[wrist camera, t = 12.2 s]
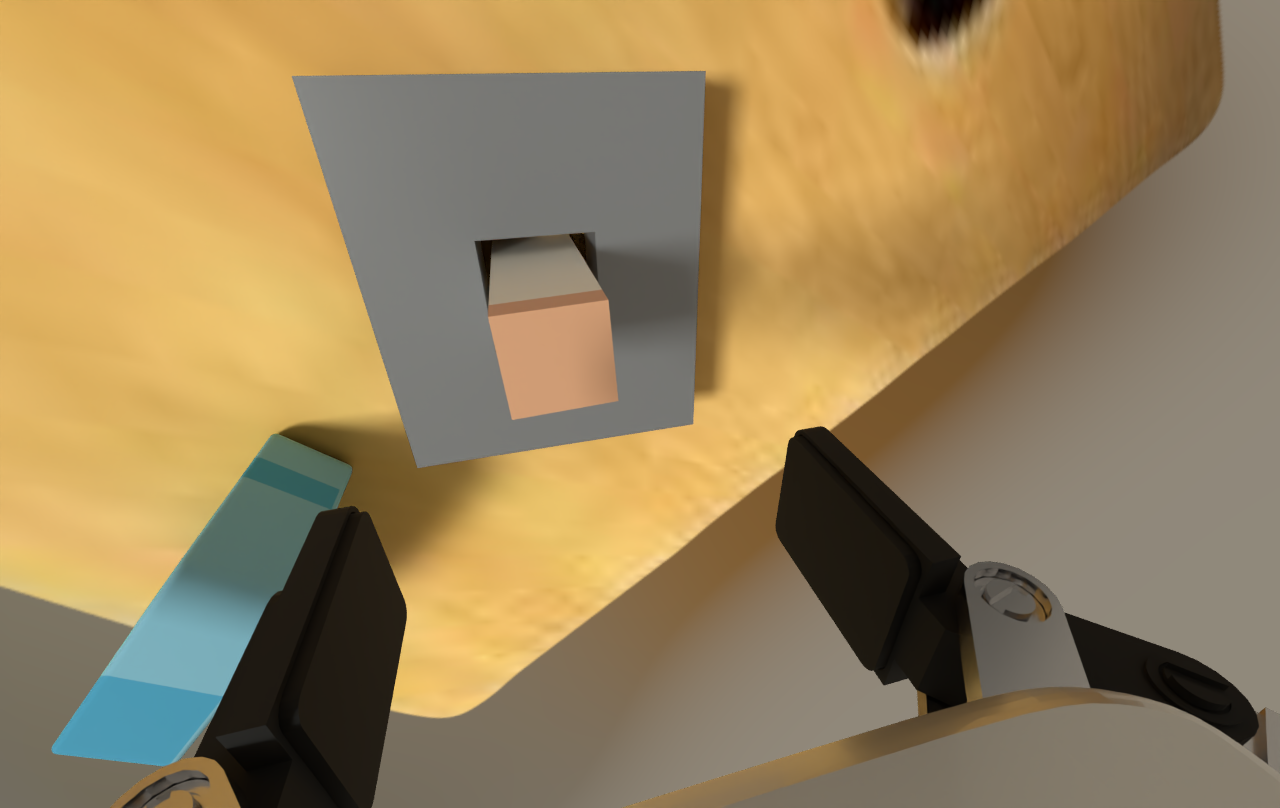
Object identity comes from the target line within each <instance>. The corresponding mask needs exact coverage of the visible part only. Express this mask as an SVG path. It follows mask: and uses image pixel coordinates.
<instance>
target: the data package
mask: <svg viewBox="0 0 1280 808" xmlns="http://www.w3.org/2000/svg"><path fill="white" fill-rule="evenodd" d="M351 474H352V467H351V466H350V465H349V464H346V463H344V462H342V461H339V460H337V459H335V458H332V457H330V456H328V455H325V454H323V453H321V452H319V451H316V450H314V449H312V448H309V447H307V446H305V445H302V444H300V443H298V442H295V441H293V440H291V439H289V438H286V437H284V436H282V435H279V434H273V435H271V436H270V438H269V439H268V440H267V442H266V443H265V445H264V446H263V447H262V449H261V450H260V452H259V453H258V454H257V456H256V457H255V458H254V460H253V461H252V463H251V464H250V465H249V467H248V468H247V470H246V471H245V472H244V474H243V475H242V476H241V478H240V479H239V481H238V482H237V483H236V485H235V486H234V488H233V489H232V490H231V492H230V493H229V494H228V496H227V497H226V499H225V500H224V501H223V503H222V504H221V506H220V507H219V508H218V510H217V511H216V512H215V514H214V515H213V517H212V518H211V519H210V521H209V522H208V524H207V525H206V526H205V528H204V529H203V531H202V532H201V533H200V535H199V536H198V537H197V539H196V540H195V542H194V543H193V544H192V546H191V547H190V549H189V550H188V551H187V553H186V554H185V555H184V557H183V558H182V560H181V561H180V562H179V564H178V565H177V567H176V568H175V569H174V571H173V572H172V574H171V575H170V576H169V578H168V579H167V581H166V582H165V583H164V585H163V586H162V588H161V589H160V590H159V592H158V593H157V595H156V596H155V598H154V599H153V600H152V602H151V603H150V605H149V606H148V608H147V609H146V611H145V612H144V613H143V615H142V616H141V618H140V619H139V621H138V622H137V624H136V625H135V627H134V628H133V629H132V631H131V632H130V634H129V635H128V637H127V638H126V640H125V641H124V643H123V644H122V646H121V647H120V648H119V650H118V652H117V653H116V654H115V656H114V657H113V659H112V660H111V662H110V663H109V665H108V666H107V667H106V669H105V670H104V672H103V673H102V675H101V676H100V678H99V679H98V681H97V682H96V683H95V685H94V686H93V688H92V689H91V691H90V692H89V694H88V695H87V697H86V698H85V699H84V701H83V702H82V704H81V705H80V707H79V708H78V710H77V711H76V713H75V714H74V715H73V717H72V718H71V720H70V721H69V723H68V724H67V726H66V727H65V729H64V730H63V731H62V733H61V734H60V736H59V737H58V739H57V740H56V742H55V743H54V745H53V746H52V752H53V753H54V754H61V755H69V756H78V757H88V758H97V759H105V760H114V761H123V762H131V763H140V764H149V765H158V766H167V765H169V764H172V763H174V762H177V761H179V760H180V759H181V758H182V756H183V755H184V754H185V753H186V751H187V750H188V749H189V748H190V746H191V745H192V744H193V743H194V741H195V740H196V739H197V738H198V736H199V735H200V734H201V733H202V731H203V730H204V729H205V728H206V726H207V725H208V724H209V723H210V721H211V720H212V718H213V716H214V714H215V712H216V710H217V708H218V706H219V704H220V702H221V700H222V697H223V695H224V693H225V691H226V689H227V687H228V685H229V683H230V681H231V679H232V676H233V674H234V672H235V670H236V668H237V666H238V664H239V662H240V660H241V657H242V655H243V653H244V651H245V649H246V647H247V645H248V643H249V641H250V639H251V636H252V634H253V632H254V630H255V628H256V626H257V624H258V622H259V620H260V617H261V615H262V613H263V611H264V609H265V607H266V605H267V603H268V602H269V600H270V598H271V597H272V596H273V595H274V594H275V593H277V592H278V591H282V590H283V588H284V586H285V584H286V581H287V579H288V577H289V575H290V573H291V570H292V568H293V566H294V564H295V562H296V559H297V557H298V555H299V553H300V551H301V548H302V546H303V544H304V542H305V540H306V538H307V535H308V533H309V531H310V529H311V527H312V524H313V522H314V520H315V518H316V516H317V515H318V513H319V512H321V511H326V510H332V509H337V507H338V505H339V503H340V500H341V498H342V495H343V493H344V491H345V488H346V486H347V483H348V481H349V479H350V476H351Z"/></svg>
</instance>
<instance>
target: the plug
mask: <svg viewBox="0 0 1280 808" xmlns="http://www.w3.org/2000/svg"><path fill="white" fill-rule="evenodd" d="M488 319H489V324H490V328H491V332H492V337H493V341H494V345H495V349H496V354H497V358H498V362H499V366H500V371H501V375H502V379H503V384H504V388H505V392H506V396H507V401H508V405H509V409H510V413H511V418H512V420H515V419H521V418H527V417H532V416H538V415H543V414H549V413H554V412H560V411H565V410H571V409H577V408H582V407H588V406H593V405H599V404H604V403H610V402H615V401H618V392H617V382H616V371H615V361H614V351H613V341H612V331H611V321H610V311H609V301H608V298H607V297H606V295H605V293H604V292H603V290H602V288H601V287H600V285H599V284H598V282H597V280H596V279H595V277H594V275H593V274H592V272H591V270H590V269H589V267H588V265H587V264H586V262H585V260H584V259H583V257H582V255H581V254H580V252H579V251H578V249H577V247H576V246H575V244H574V242H573V241H572V239H571V237H570V236H569V234H560V235H547V236H534V237H521V238H508V239H499V240H492V250H491V269H490V287H489V306H488Z"/></svg>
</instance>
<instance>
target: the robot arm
mask: <svg viewBox="0 0 1280 808" xmlns="http://www.w3.org/2000/svg"><path fill="white" fill-rule="evenodd" d="M776 532H777V535H778V538H779V539H780V541H781V543H782V544H783V546H784V547H785V549H786V550H787V552H788V553H789V555H790V556H791V558H792V559H793V561H794V562H795V564H796V565H797V567H798V568H799V570H800V571H801V573H802V574H803V576H804V577H805V579H806V580H807V582H808V583H809V585H810V586H811V588H812V589H813V591H814V592H815V594H816V595H817V597H818V598H819V600H820V601H821V603H822V604H823V606H824V607H825V609H826V610H827V612H828V613H829V615H830V616H831V618H832V619H833V621H834V622H835V624H836V625H837V627H838V628H839V630H840V631H841V633H842V634H843V636H844V637H845V639H846V640H847V642H848V643H849V645H850V647H851V648H852V650H853V651H854V652H855V654H856V656H857V657H858V659H859V660H860V662H861V663H862V664H863V666H864V667H865V668H867V669H868V670H871V671H872V670H874V672H875V673H876V675H877V676H878V678H879V679H880V680H881V682H882V684H883V685H887V684H891V683H894V682H897V681H901V680H904V679H907V678H908V679H909V680H910V681H911V683H912V684H913V686H914V687H915V688H916V690H917V701H918V717H915V718H911V719H908V720H905V721H901V722H898V723H895V724H891V725H888V726H885V727H881V728H879V729H875V730H872V731H868V732H865V733H862V734H859V735H856V736H852V737H849V738H845V739H842V740H839V741H836V742H833V743H829V744H826V745H823V746H819V747H816V748H813V749H810V750H806V751H803V752H800V753H797V754H793V755H790V756H787V757H783V758H780V759H777V760H774V761H771V762H768V763H764V764H761V765H758V766H755V767H751V768H748V769H745V770H742V771H738V772H735V773H732V774H729V775H725V776H722V777H719V778H716V779H712V780H709V781H706V782H703V783H700V784H696V785H693V786H690V787H687V788H684V789H680V790H677V791H674V792H671V793H668V794H664V795H661V796H658V797H655V798H652V799H648V800H645V801H642V802H639V803H636V804H632V805H629V806H626V807H623V808H1280V714H1278V713H1276V712H1274V711H1272V710H1270V709H1268V708H1266V707H1265V708H1264V709H1263V710H1261V711H1260V712H1259V713H1258V712H1256V711H1254V709H1253V707H1252V706H1251V704H1250V703H1249V701H1248V700H1247V699H1246V697H1245V696H1244V695H1243V694H1242V693H1241V692H1240V691H1239V690H1238V689H1237V688H1236V687H1235V686H1234V685H1233V684H1231V683H1230V682H1229V681H1228V680H1226V679H1225V678H1224V677H1222V676H1221V675H1220V674H1219V673H1217V672H1216V671H1214V670H1212V669H1211V668H1209V667H1207V666H1206V665H1204V664H1202V663H1201V662H1199V661H1197V660H1195V659H1193V658H1190V657H1188V656H1186V655H1183V654H1181V653H1179V652H1176V651H1173V650H1170V649H1167V648H1164V647H1162V646H1159V645H1156V644H1153V643H1150V642H1147V641H1144V640H1142V639H1139V638H1136V637H1133V636H1130V635H1127V634H1124V633H1121V632H1119V631H1116V630H1113V629H1110V628H1107V627H1104V626H1101V625H1099V624H1096V623H1093V622H1090V621H1087V620H1084V619H1081V618H1079V617H1076V616H1073V615H1070V614H1067V613H1064V611H1063V608H1062V606H1061V604H1060V602H1059V600H1058V599H1057V597H1056V596H1055V595H1054V593H1053V592H1052V591H1051V590H1050V589H1049V588H1048V587H1047V586H1046V585H1045V584H1043V583H1042V582H1041V581H1039V580H1038V579H1036V578H1035V577H1034V576H1032V575H1030V574H1028V573H1026V572H1025V571H1022V570H1021V569H1019V568H1016V567H1013V566H1010V565H1007V564H1004V563H998V562H991V561H989V562H978V563H976V564H973V565H971V566H969V568H967V567H966V566H965V565H964V564H963V563H962V562H961V561H960V558H961V556H960V555H959V554H958V553H957V552H956V551H955V550H954V549H953V548H952V547H951V546H950V545H949V544H948V543H947V542H946V541H944V540H943V539H942V538H941V537H940V536H939V535H938V534H937V533H936V532H935V531H934V530H933V529H932V528H931V527H930V526H929V525H928V524H926V523H925V522H924V521H923V520H922V519H921V518H920V517H919V516H918V515H917V514H916V513H915V512H914V511H913V510H912V509H911V508H910V507H908V505H907V504H905V503H904V502H903V501H902V500H901V499H900V498H899V497H898V496H897V495H896V494H895V493H894V492H893V491H892V490H891V489H890V488H889V487H887V486H886V485H885V484H884V483H883V482H882V481H881V480H880V479H879V478H878V477H877V476H876V475H875V474H874V473H873V472H872V471H871V470H870V469H869V468H868V467H866V466H865V465H864V464H863V463H862V462H861V461H860V460H859V459H858V458H857V457H856V456H855V455H854V454H853V453H852V452H851V451H850V450H849V449H847V448H846V447H845V446H844V445H843V444H842V443H841V442H840V441H839V440H838V439H837V438H836V437H835V436H834V435H833V434H832V433H831V432H830V431H829V430H827V429H826V428H825V427H821V426H820V427H814V428H808V429H802V430H798V431H797V432H796V433H795V436H794V437H793V438H791V439H790V440H789V443H788V448H787V454H786V461H785V467H784V474H783V480H782V486H781V493H780V500H779V505H778V512H777V518H776ZM406 619H407V610H406V604H405V600H404V598H403V595H402V593H401V591H400V588H399V586H398V583H397V581H396V578H395V576H394V573H393V571H392V569H391V566H390V564H389V561H388V559H387V556H386V554H385V551H384V549H383V547H382V544H381V542H380V539H379V537H378V534H377V532H376V529H375V527H374V525H373V522H372V520H371V517H370V515H369V514H368V513H367V512H359V511H358V509H357V508H356V507H355V506H350V507H344V508H338V509H332V510H326V511H321V512H319V513H318V515H317V516H316V518H315V520H314V522H313V524H312V527H311V529H310V531H309V533H308V535H307V538H306V540H305V542H304V544H303V546H302V548H301V551H300V553H299V555H298V557H297V559H296V562H295V564H294V566H293V568H292V570H291V573H290V575H289V577H288V579H287V581H286V584H285V586H284V588H283V590H282V591H278V592H277V593H275V594H274V595H273V596H272V597H271V598H270V600H269V602H268V603H267V605H266V607H265V609H264V611H263V613H262V615H261V617H260V620H259V622H258V624H257V626H256V628H255V630H254V632H253V634H252V636H251V639H250V641H249V643H248V645H247V647H246V649H245V651H244V653H243V655H242V657H241V660H240V662H239V664H238V666H237V668H236V670H235V672H234V674H233V676H232V679H231V681H230V683H229V685H228V687H227V689H226V691H225V693H224V695H223V697H222V700H221V702H220V704H219V706H218V708H217V710H216V712H215V714H214V716H213V718H212V721H211V723H210V725H209V727H208V729H207V731H206V733H205V735H204V737H203V740H202V742H201V744H200V746H199V748H198V750H197V752H196V754H195V756H194V758H187V759H182V760H180V761H177V762H174V763H172V764H169V765H167V766H164V767H162V768H160V769H159V770H157V771H155V772H154V773H152V774H150V775H149V776H147V777H145V778H144V779H142V780H141V781H139V782H138V783H137V784H136V785H134V786H133V787H132V788H131V789H130V790H128V791H127V792H126V793H125V794H123V795H122V796H121V797H120V798H119V799H118V800H117V801H116V802H115V803H114V804H113V805H112V806H111V807H110V808H371V807H372V804H373V800H374V795H375V790H376V784H377V779H378V773H379V768H380V762H381V757H382V751H383V746H384V740H385V735H386V729H387V724H388V718H389V713H390V707H391V702H392V697H393V691H394V686H395V680H396V675H397V669H398V664H399V658H400V653H401V647H402V642H403V636H404V631H405V625H406Z"/></svg>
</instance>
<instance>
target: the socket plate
mask: <svg viewBox="0 0 1280 808" xmlns="http://www.w3.org/2000/svg"><path fill="white" fill-rule="evenodd" d="M705 73H706V71H674V72H592V73H510V74H428V75H345V76H292V78H293V81H294V85H295V88H296V91H297V94H298V97H299V100H300V103H301V106H302V109H303V113H304V116H305V119H306V122H307V125H308V128H309V131H310V134H311V138H312V141H313V144H314V147H315V150H316V153H317V156H318V159H319V162H320V166H321V169H322V172H323V175H324V178H325V181H326V184H327V187H328V191H329V194H330V197H331V200H332V203H333V206H334V209H335V212H336V215H337V219H338V222H339V225H340V228H341V231H342V234H343V237H344V240H345V244H346V247H347V250H348V253H349V256H350V259H351V262H352V265H353V268H354V272H355V275H356V278H357V281H358V284H359V287H360V290H361V293H362V297H363V300H364V303H365V306H366V309H367V312H368V315H369V318H370V321H371V325H372V328H373V331H374V334H375V337H376V340H377V343H378V346H379V350H380V353H381V356H382V359H383V362H384V365H385V368H386V371H387V374H388V378H389V381H390V384H391V387H392V390H393V393H394V396H395V399H396V403H397V406H398V409H399V412H400V415H401V418H402V421H403V424H404V427H405V431H406V434H407V437H408V440H409V443H410V446H411V449H412V452H413V456H414V459H415V462H416V465H417V468H421V467H427V466H434V465H440V464H446V463H452V462H459V461H465V460H471V459H478V458H484V457H490V456H496V455H503V454H509V453H515V452H521V451H528V450H534V449H540V448H546V447H553V446H559V445H565V444H572V443H578V442H584V441H590V440H597V439H603V438H609V437H615V436H622V435H628V434H634V433H640V432H647V431H653V430H659V429H666V428H672V427H678V426H684V425H691V424H693V414H694V386H695V357H696V329H697V300H698V272H699V244H700V215H701V187H702V158H703V130H704V101H705ZM573 233H584V238H585V250H586V263H587V265H588V267H589V269H590V270H591V272H592V274H593V275H594V277H595V279H596V280H597V282H598V284H599V285H600V287H601V288H602V290H603V292H604V293H605V295H606V297H607V298H608V301H609V311H610V321H611V331H612V341H613V351H614V361H615V371H616V382H617V392H618V401H615V402H610V403H604V404H599V405H593V406H588V407H582V408H577V409H571V410H565V411H560V412H554V413H549V414H543V415H538V416H532V417H527V418H521V419H515V420H512V418H511V413H510V409H509V405H508V401H507V396H506V392H505V388H504V384H503V379H502V375H501V371H500V366H499V362H498V358H497V354H496V349H495V345H494V341H493V337H492V332H491V328H490V324H489V319H488V306H489V284H488V279H487V273H486V268H485V262H484V257H483V251H482V246H481V240H494V239H507V238H521V237H534V236H547V235H560V234H573Z"/></svg>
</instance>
